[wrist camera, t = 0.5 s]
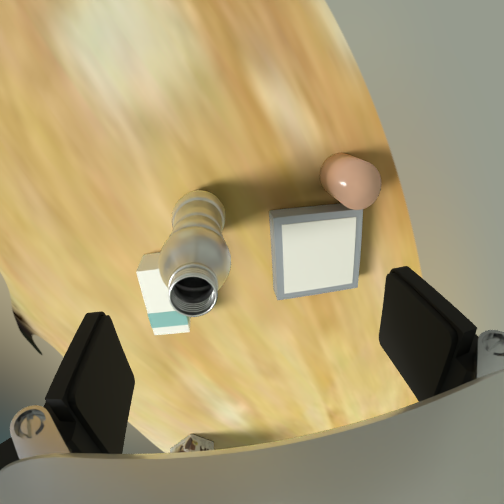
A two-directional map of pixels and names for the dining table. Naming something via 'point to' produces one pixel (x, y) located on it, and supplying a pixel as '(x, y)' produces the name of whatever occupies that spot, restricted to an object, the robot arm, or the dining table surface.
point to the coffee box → (192, 445)
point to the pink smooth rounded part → (350, 180)
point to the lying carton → (159, 299)
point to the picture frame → (315, 249)
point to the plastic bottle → (195, 254)
